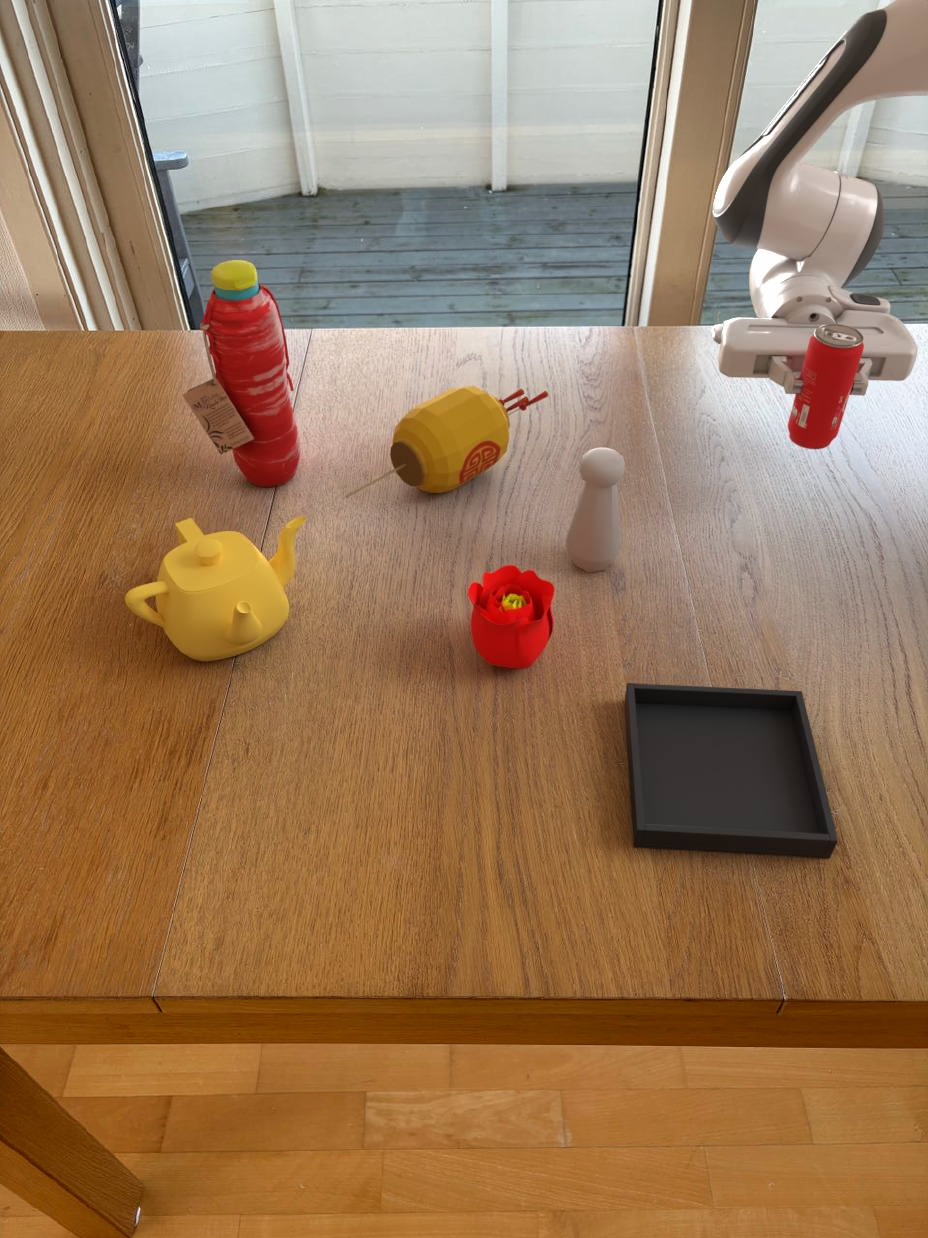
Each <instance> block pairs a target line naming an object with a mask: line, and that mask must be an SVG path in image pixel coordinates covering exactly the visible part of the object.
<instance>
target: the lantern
mask: <svg viewBox="0 0 928 1238" xmlns="http://www.w3.org/2000/svg"><path fill="white" fill-rule="evenodd" d="M523 395H525V390H524V389H523V388H520V389H518V390H517V391H515V392H514V393H512V394H510V395H509V396H507V397H505V398H504V399H501V398H499V399H498V398H497V397H495V396H493V395H492V394H491V393H489V392H487V391H485V390H484V389H481V388H479V387H477V386H475V385H470V386H461V387H453V388H449V389H447V390H445V391H444V392H441V393H440V394H437V395H436V396H434V397H432V398H430V399H428V400H426V401H424V402H422V403H420V404H418V405H417V406H414V407H413V408H411V409H410V410H409V411H408V412H407V413H406V414H405V415H404V416H403V417H402V418H401V419H400V420H399V422H398V423H397V424H396V425H395V427H394V431H393V436H392V444H391V446H390V450H389V456H390V460H391V465H392V467H393V469H392V470H390V471H388V472H386V473H384V474H382V475H381V476H379V477H377V478H375V479H373V480H371V481H369V482H367V483H366V484H364V485H362V486H361V487H359V488H357V489H355V490H353V491H351V492H349V493H348V494H346V495H345V497H346V498H347V499H348V498H350V497H352V496H354V495H356V494H357V493H359V492H361V491H363V490H365V489H366V488H368V487H370V486H372V485H374V484H376V483H377V482H379V481H381V480H382V479H385V478H387V477H388V476H390V475H392V474H394V473H396V475H398V478H400V479H401V481H402V482H403V483H405V484H407V485H408V486H410V487H416V488H417V489H419V490H420V491H424V492H426V493H428V494H429V493H430V494H443V493H446V492H452V491H454V490H456V489H457V488H459V487H461V486H462V485H465V484H466V483H467V482H469V481H471V480H473V479H474V478H476V477H478V476H479V475H481V474H483V473H484V472H486V471H488V470H489V469H491V468H492V467H493V466H494V465H495V464H497V463H498V462H499V461H500V460H501V459H502V458H503V456H504V455H505V453H506V452H507V449H508V445H509V441H510V427H511V423H510V418H509V416H510V415H512V414H514V413H515V412H518V411H519V410H520V411H523V412H524V411H526V410H527V408H528V407H529V406H531V405H533V404H535V403H537V402H540V401H542V400H543V399H546V398H547V397H549V393H548V391H546V390H544V391H542V392H541V393H539V394H538V395H536V396H534V397H533V398H532V399H530V400H529V397H528V396H524V397H523ZM519 397H522V398H521V399H519V400H518V401H516V402H514V403H513V404H511V405H509V406H508V407H505V404H506V403H509V402H511V401H513V400H515V399H517V398H519ZM516 408H517V409H516ZM512 410H513V411H512ZM510 411H512V412H510ZM509 412H510V413H509Z"/></svg>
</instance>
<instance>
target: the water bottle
mask: <svg viewBox="0 0 928 1238" xmlns="http://www.w3.org/2000/svg"><path fill="white" fill-rule="evenodd" d="M210 277H211V281H212V284H213V287H214V288H213V290H212V291H211V293H210V297H209V299H208V301H207V303H206V307H205V311H204V314H203V318H202V322H201V323H200V324H199V327H200V328H199V329H200V331H202V336H203V342H204V343H203V344H204V348H205V351H206V356H207V361H208V364H209V368H210V372H211V376H212V378H211V379H209V380H207V381H205V382H203V383H200V384H198V385H197V386H194V387H192V388H190V389H188V390H187V391H186V392H184V393H183V394H182V395H181V396H182V397H183V399H184V400H185V401H186V403H187V405H188V406H189V409H190V410H191V411H192V413H193V414H194V416H195V417H196V419H197V421H198V422H199V423H200V425H201V427H202V428H203V430H204V431H205V433H206V434H207V436H208V438H209V439H210V441H211V442H212V443H213V445H214V447H215V448H216V450H217V451H218V453H219V455H221V456H222V455H225V454H226V453H228V452H230V451H232V455H233V459H234V462H235V464H236V465H237V468H238V469H239V471H240V472H241V474H242V475H243V476H244V478H245V479H246V480H247V481H248V482H249V483H251V484H252V485H256V486H258V487H262V488H263V487H265V488H266V487H267V488H274V487H278V486H281V485H285V484H286V483H288V482H289V481H290V480H292V479H293V478H294V477H295V475H296V473H297V469H298V467H299V463H300V458H301V454H302V448H301V442H300V433H299V429H298V426H297V421H296V417H295V414H294V413H295V412H294V408H293V404H292V401H291V396H290V391H291V392H294V391H295V389H294V385H293V380H292V378H291V376H290V373H288V369H289V366H290V355H289V349H288V343H287V336H286V332H285V328H284V324H283V320H282V316H281V312H280V311H281V310H280V307H279V305H278V302H277V300H276V299H275V296H274V294H273V293H272V292H271V290H270V289H269V288H268V287H266V286H264V285H261V283H259V281H258V271H257V268H256V267H255V265H254V264H253V263H252V262H249V261H246V260H243V259H242V260H241V259H239V260H237V259H236V260H233V259H232V260H228V261H222V262H220V263H218V264H216V265H215V266H214V267H213V268H212V270H211V272H210ZM208 342H209V343H208ZM289 389H290V390H289Z"/></svg>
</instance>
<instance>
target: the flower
mask: <svg viewBox="0 0 928 1238" xmlns="http://www.w3.org/2000/svg"><path fill="white" fill-rule="evenodd" d="M555 590H556V588H555V585H554V584H553V583H552V582H551V581H548V580H546V579H542V578H540V577H539V576H538V575H537V573H536V572H535V570H533V569H526V570H523V571H521V569H519V567H518V566H517V565H514V564H507V565H503V566H501V567H498V568H497V569H496V570H495V571H492V572H488V571H484V572H483V573H482V584H481V582H480V583H479V582H477V581H473V582H471V584H470V585H469V587H468V590H467V595H468V599H469V600H470V602H471V604H472V606H473V607H472V611H471V615H470V634H471V639H472V642H473V644H474V648H475V650H476V651H477V653H478V654H479V655H480V656H481V657H482V659H483V660H484V661H485V662H486V663H487V664H489V665H491V666H492V665H493V666H497V667H501V668H510V669H517V670H520V669H521V670H522V669H528V668H529V667H531V666H533V664H534V663H535V662H536V661H537V660H538V659H539V658H540V656H541V655H542V653H543V652H544V650H545V649H546V647H547V645H548V642H549V641H550V639H551V638H552V634H553V631H554V627H555V626H554V625H555V621H554V614H553V611H552V603H553V602H552V601H553V600H554V596H555V592H556V591H555Z"/></svg>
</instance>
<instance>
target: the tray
mask: <svg viewBox="0 0 928 1238" xmlns="http://www.w3.org/2000/svg"><path fill="white" fill-rule="evenodd" d="M623 704H624V706H623V707H624V722H625V736H626V750H627V752H626V754H627V767H628V780H629V781H628V782H629V783H628V784H629V797H630V815H631V830H632V845H633V846H632V847H633V848H643V849H659V850H674V851H675V850H677V851H695V852H712V853H713V852H714V853H728V854H729V853H730V854H745V855H762V856H763V855H764V856H780V857H781V856H783V857H799V858H800V857H801V858H817V859H818V858H819V859H830V858H831V857H832V854H833V852H834V850H835V848H836V846H837V844H838V842H839V839H838V835H837V831H836V827H835V823H834V819H833V813H832V810H831V806H830V801H829V798H828V793H827V789H826V785H825V781H824V778H823V773H822V769H821V765H820V761H819V756H818V752H817V749H816V744H815V740H814V735H813V732H812V727H811V723H810V719H809V714H808V710H807V707H806V702H805V699H804V694H803V691H802V690H787V689H786V690H784V689H767V688H766V689H765V688H743V687H719V686H702V685H701V686H697V685H682V684H681V685H680V684H679V685H676V684H658V683H636V682H635V683H634V682H627V683H626V688H625V694H624V699H623Z"/></svg>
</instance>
